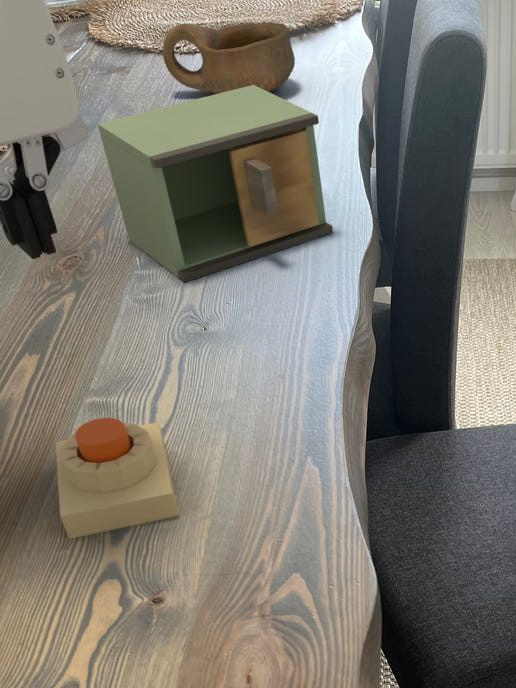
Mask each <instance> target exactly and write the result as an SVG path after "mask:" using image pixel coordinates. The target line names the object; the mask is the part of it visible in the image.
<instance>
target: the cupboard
mask: <svg viewBox="0 0 516 688" xmlns="http://www.w3.org/2000/svg"><path fill="white" fill-rule="evenodd" d="M319 120H320V119H319V115H317V114H315V113H313V112H311V111H310V110H308V109H305V108H303V107H301V106H299V105H298V104H297V105H296V104H295V103H292V102H290V101H288V100H287V99H284V98H282V97H280V96H277V95H275V94H274V93H272V92H267V91H265V90H263V89H261V88H259V87H257V86H255V85H251V86H247V87H243V88H239V89H235V90H231V91H227V92H223V93H219V94H215V93H214V94H211V95H207V96H203V97H199V98H195V99H192V100H187V101H184V102H180V103H175V104H171V105H168V106H164V107H160V108H155V109H151V110H147V111H143V112H139V113H136V114H131V115H128V116H123V117H120V118H114V119H112V120H107V121H103V122H99V123H97V127H98V131H99V134H100V138H101V141H102V146H103V149H104V153H105V157H106V160H107V164H108V167H109V171H110V175H111V179H112V182H113V186H114V190H115V193H116V198H117V200H118V204H119V207H120V211H121V216H122V219H123V223H124V226H125V231H126V233H127V237H128V241H129V242H131V243H132V244H134V246H136V247H137V248H138V249H140V250H141V251H142V252H144V253H145V254H146V255H148V256H149V257H150V258H152V259H153V260H154V261H156V262H157V263H158V264H159V265H161V266H162V267H163V268H165V269H166V270H167V271H169V272H170V273H171V274H173V275H174V276H176V277H177V278H178V279H179V280H180V281H182V282H183V283H187V282H190V281H193V280H197V279H199V278H202V277H205V276H208V275H211V274H214V273H217V272H219V271H222V270H225V269H228V268H229V269H230V268H232V267H234V266H238V265H240V264H244V263H247V262H249V261H253V260H256V259H258V258H262V257H265V256H268V255H271V254H273V253H277V252H280V251H283V250H285V249H288V248H292V247H294V246H298V245H300V244H304V243H307V242H309V241H313V240H316V239H318V238H322V237H324V236H327V235H331V234H333V233H334V229H333V225H332V224H330V223H328V222H327V221H326V220H327V219H326V210H325V203H324V202H325V201H324V196H323V188H322V180H321V172H320V164H319V159H318V158H319V157H318V150H317V141H316V135H315V128H314V126H316V125H319V124H320V121H319ZM299 130H305V131H306V134H307V141H308V148H309V156H310V163H311V170H312V178H313V185H314V192H315V200H316V207H317V214H318V222H319V225H316V226H313V227H310V228H307V229H304V230H301V231H298V232H295V233H292V234H289V235H286V236H282V237H279V238H276V239H273V240H270V241H267V242H264V243H261V244H258V245H255V246H252V247H248V246H247V244H246V239H245V233H244V228H243V223H242V218H241V212H240V207H239V202H238V197H237V191H236V186H235V181H234V176H233V170H232V165H231V160H230V155H229V150H231V149H235V148H238V147H242V146H245V145H249V144H253V143H256V142H260V141H263V140H267V139H271V138H274V137H278V136H281V135H285V134H289V133H292V132H296V131H299Z"/></svg>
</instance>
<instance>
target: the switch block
mask: <svg viewBox="0 0 516 688" xmlns="http://www.w3.org/2000/svg"><path fill="white" fill-rule="evenodd" d="M122 423H123V424H124V425H125V428H126V431H127V434H128V438H129V441H130V444H131V449H130V451H129V452H128V453H127V454H126V455H124V456H122V457H120V458H118V459H116V460H113V461H108V462H103V463H92V462H87V461H85V460H84V459H83V457H82V455H81V452H80V450H79V447H78V444H77V441H76V439H75V433H74V434H73V435H71V436H70V437H68V439H63V440H57V441H56V442H55V454H56V455H55V456H56V471H57V489H58V502H59V504H58V505H59V517H60V520H61V521H62V524H63V527H64V530H65V532H66V533H67V537H68V538H69V540H71V539H76V538H80V537H86V536H90V535H96V534H100V533H105V532H110V531H114V530H119V529H123V528H128V527H133V526H138V525H142V524H147V523H152V522H157V521H161V520H165V519H170V518H175V517H179V516H180V512H179V508H178V503H177V497H176V492H175V491H176V490H175V485H174V484H173V483H174V482H173V478H172V472H171V471H172V470H171V467H170V460H169V456H168V451H167V446H166V443H165V439H164V436H163V435H164V434H163V432H162V429H161V425H160V422H158V421H157V422H153V423H147V424H142V425H138V424H136V423H131V422H122Z"/></svg>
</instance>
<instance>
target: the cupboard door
mask: <svg viewBox="0 0 516 688" xmlns="http://www.w3.org/2000/svg"><path fill="white" fill-rule="evenodd" d="M229 155H230V160H231V165H232V170H233V176H234V181H235V186H236V191H237V197H238V202H239V207H240V212H241V218H242V223H243V228H244V233H245V239H246V244H247V246H248V247H252V246H255V245H258V244H261V243H264V242H267V241H270V240H273V239H276V238H279V237H282V236H286V235H289V234H292V233H295V232H298V231H301V230H304V229H307V228H310V227H313V226H316V225H319V222H318V214H317V207H316V200H315V192H314V185H313V178H312V170H311V163H310V156H309V148H308V141H307V134H306V131H305V130H299V131H296V132H292V133H289V134H285V135H281V136H278V137H274V138H271V139H267V140H263V141H260V142H256V143H253V144H249V145H245V146H242V147H238V148H235V149H231V150H229Z"/></svg>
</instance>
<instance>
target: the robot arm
mask: <svg viewBox="0 0 516 688" xmlns="http://www.w3.org/2000/svg"><path fill="white" fill-rule="evenodd" d="M61 42H62V41H61V40H60V37H59V34H58V31H57V28H56V26H55V23H54V20H53V18H52V16H51V13H50V10H49V8H48V5H47V3H46V0H0V147H3V146H8V145H9V148H10V152H11V153H10V154H11V158H12V164H13V169H14V174H13V178H14V179H12V180H11V181H12V182H11V181H10V180H9V179H8V178H7V174H6V173H5V171H4V169H3V167H2V165H1V164H0V224H1V225H0V226H1V228H2V230H3V233H4V235H5V237H6V239H7V241H8V242H9V243H10V245H11V246H18V247H19V248H20V249H21V250H22V251H23V252H24V253H25V254H26V255H27V256H28V257H30V259H31V260H35V259H39V258H41V257H42V256H41V255H43V254H47V255H48V256H49V255H52V254H53V255H54V254H56V253H57V248H56V246H55V243H54V240H53V236H52V235H55V234H57V233H58V228H57V225H56V222H55V218H54V215H53V211H52V208H51V206H50V202H49V199H48V196H47V192H46V189H47V188H48V187H49V184H50V179H49V176H50V174H51V172H52V170H53V168H54V166H55V164H56V162H57V160H58V158H59V156H60V154H61V152H64V151H67V150H69V149H71V148H73V147H74V146H76V145H78V144H80V143H81V142H83V141H85V140H86V139H87V138H88V136H89V130H88V128H87V126H86V124H85V122H84V120H83V118H82V116H81V113H80V112H81V110H80V102H79V101H80V100H79V97H78V92H77V89H76V86H75V82H74V79H73V74H72V72H71V67H70V66H69V62H68V59H67V57H66V54H65V50H64V47H63V45H62V43H61Z"/></svg>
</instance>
